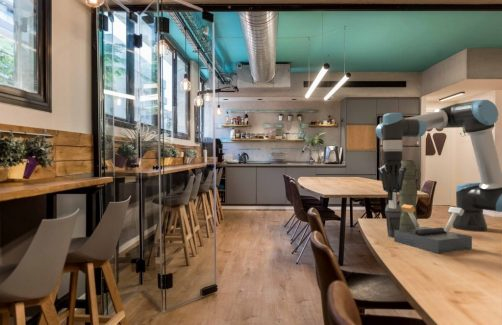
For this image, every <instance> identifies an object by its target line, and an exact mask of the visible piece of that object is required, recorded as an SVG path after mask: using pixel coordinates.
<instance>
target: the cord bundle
mask: <svg viewBox="0 0 502 325" xmlns="http://www.w3.org/2000/svg"><path fill="white" fill-rule="evenodd" d="M430 228H431V229H421V230H415V231H414V232H415V234H419V235H423V234H433V233H442V232H445V231H444V229H445V227H444V228H443V227H430Z"/></svg>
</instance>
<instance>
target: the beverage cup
mask: <svg viewBox="0 0 502 325" xmlns="http://www.w3.org/2000/svg"><path fill="white" fill-rule="evenodd" d="M401 212H402V211H401V207H400V206H399V203H398V202H396V209H393V208H389V203H388V204H386V206H385V209H384V213H385V219H386V230H387V237H389V238H394V230H397V229H399V227H400V216H401Z"/></svg>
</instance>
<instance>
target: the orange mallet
mask: <svg viewBox="0 0 502 325" xmlns="http://www.w3.org/2000/svg"><path fill="white" fill-rule="evenodd" d="M401 208H402V210H403V212H408V214H409V216H410V218H411V220H412V222H413V224H414V226H415V227H416V228H418V227H421V226H420V224H419V222H418V219H417V220H416V218H415V216H414V214H413V212H414V211H415V208H414V206H413V205H406V204H404V205H402V206H401Z"/></svg>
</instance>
